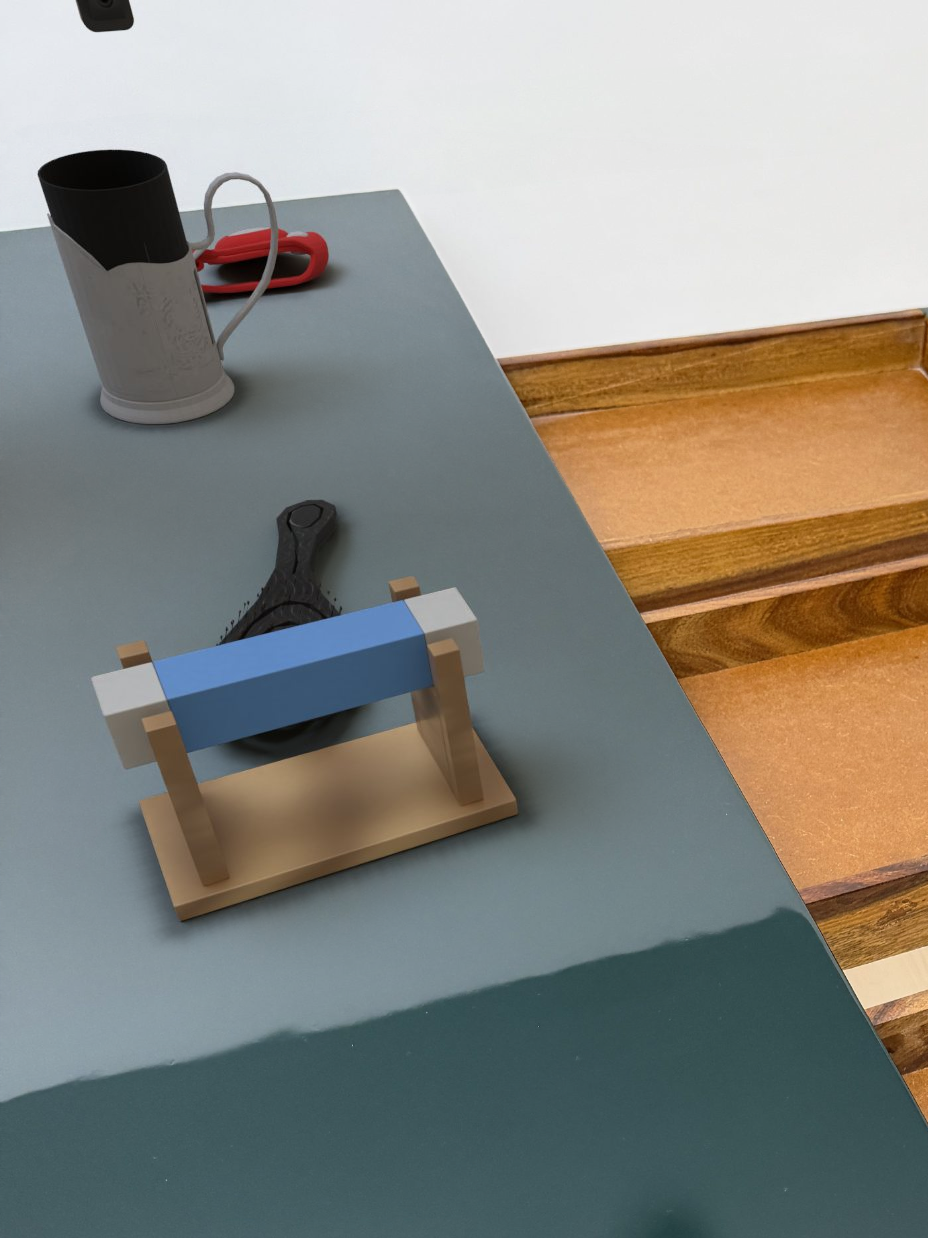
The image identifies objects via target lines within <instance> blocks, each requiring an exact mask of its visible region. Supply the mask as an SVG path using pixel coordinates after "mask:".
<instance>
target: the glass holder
mask: <svg viewBox="0 0 928 1238" xmlns="http://www.w3.org/2000/svg"><path fill="white" fill-rule="evenodd" d="M37 178H38V180H39V183H40V187H41V190H42V193H43V196H44V199H45V202H46V205H47V208H48V213H46V216H47V219H48V221H49V225H50V228H51V231H52V234H53V237H54V240H55V243H56V246H57V249H58V253H59V255H60V259H61V262H62V265H63V268H64V272H65V274H66V277H67V280H68V283H69V287H70V290H71V293H72V295H73V299H74V302H75V305H76V308H77V311H78V314H79V318H80V320H81V321H80V322H81V323H82V327H83V329H84V333H85V336H86V340H87V342H88V345H89V348H90V351H91V354H92V357H93V361H94V364H95V366H96V371H97V373H98V377H99V380H100V382H101V384H100V385H101V391H100V399H99V401H100V406H101V408H102V409H103V411H104V412H105V413H107V414H108V415H110V416H111V417H113V418H114V419H115V418H116V419H117V420H120V421H125V422H128V423H134V424H143V425H165V424H176V423H180V422H187V421H190V420H194V419H198V418H201V417H204V416H207V415H209V414H211V413H214V412H216V411H218V410H219V409H221V408H223V407H225V405H227V403H229V402H230V401H231V399H232V398H233V397H234V394H235V384H234V382H233V381H232V379H231V378H230V377H229V375H228V374H227V373H226V371H225V370H224V368H223V365H222V362H223V361H225V355H224V346H225V344H226V343H227V341H228V339H229V338H230V336H231V335H232V334H233V332H234V331H235V330H236V329H237V328H238V326H239V325H240V324H241V322H242V321H243V320H244V319H245V318H246V317H247V315H248V314H249V313H250V312H251V311H252V309H253V308H254V306H255V305H256V303H258V301H259V300H260V298H261V297H262V296H263V294H264V292H266V290H267V289H266V288H267V286H268V285H269V283H270V279H272V276H273V274H274V273H273V272H274V270H275V266H276V265H275V264H276V260H277V256H278V254H277V251H278V228H279V227H278V219H277V213H276V208H275V206H274V203H273V200H272V197H271V194H270V193H269V191H268V190H267V189H266V188H265V186H264V185H263V184H262V183H261V181H259V180H258V179H256V178H255V177H253V176H252V175H250V174H247V173H242V172H237V171H236V172H225V173H223V174H221V175H219V176H216V177H215V178H214V179H213V180H212V181H211V183H209V185H208V187H207V189H206V191H205V193H204V198H203V199H204V200H203V211H204V219H205V223H206V228H207V235H206V236H205V238H204V239H202V240H200V241H196V242H189V241H188V240H187V237H186V233H185V229H184V225H183V222H182V217H181V213H180V210H179V206H178V202H177V198H176V195H175V191H174V187H173V183H172V179H171V176H170V172H169V168H168V164H167V163H166V161H165V160H164V159H163V158H161V157H160V156H157V155H155V154H152V153H148V152H144V151H139V150H131V149H96V150H94V149H93V150H87V151H80V152H75V153H70V154H66V155H62V156H59V157H56V158H54V159H51V160H50V161H47V162H45V163H44V164H43V165H41V166H40V168H39V169H38V170H37ZM232 180H233V181H234V180H241V181H246V182H249V183H250V184H253V185H255V186H256V187H257V188H258V190H260V192H261V193H262V194H263V197H264V200H265V203H266V206H267V208H268V215H269V224H270V228H271V247H270V252H269V255H268V256H267V261H266V265H265V268H264V271H263V273H262V276H261V279H260V280H261V281H260V280H259V281H260V282H259V284H258V286H257V287H256V289H255V290H253V292H252V293H251V295H250V296H249V298H248V299H247V301H246V302H244V305H243V306H241V308H240V309H239V310H238V311H237V313H236V314H235V315H234V316H233V317H232V318H231V320H230V321H229V322H228V323H227V325H226V326H225V328H224V329H223V330H222V332H221V333H220V334H219V336H218V338H217V340H216V337H215V334H214V330H213V327H212V322H211V319H210V314H209V311H208V306H207V303H206V299H205V295H204V292H203V291H202V287H201V285H202V284H201V280H200V276H199V272H197V268H196V264H195V260H194V256H193V252H192V251H195V250H201V249H204V248H206V247H208V246H209V247H210V246H211V245H212V244H213V242H214V241H215V236H216V231H215V225H214V218H213V210H212V208H213V199H214V197H215V194H216V193H217V190H218V189H219V188H220V187H221V186H222V185H223V184H224V183H227V182H229V181H232ZM209 247H208V248H209Z"/></svg>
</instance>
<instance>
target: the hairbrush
mask: <svg viewBox="0 0 928 1238" xmlns="http://www.w3.org/2000/svg"><path fill="white" fill-rule="evenodd" d="M275 519H276V527H277V533H278V542H277V549H276V557H275V566H274V570H272V572H271V574H270V577H269V578H268V580H267V581H266V583H265V585H264V587H263V586H261V588H260V590H261V593H259V592H257V594H256V597H257V599H256V600H255V602H254V603H253V604H252V605H251V606H250V608H249V609H248V607H249V605H250V600H247V601H246V602H243V609H245V608H246V611H245V610H243V611H242V610H241V609H239V611H238V613H239V614H238V621H237V622H236V623H235V620H234V619H232V620H231V621H230V626H231V628H230V631H229V628H228V626H226V627H225V634H224V635H225V636H224V637H223V635H220V637H219V638H220V640H221V641H220V642H219V643H216V645H215V646H218V645H222V644H226V643H231V642H235V641H239V640H243V639H247V638H251V637H255V636H259V635H263V634H267V633H271V632H275V631H279V630H283V629H287V628H291V627H295V626H299V625H304V624H308V623H312V622H316V621H320V620H324V619H328V618H332V617H336V616H340V615H342V611H343V606H342V605H339V610H337V609H336V608H335V606H334V605H335V602H336V601H337V598H336V597H334V598H333V600H334V603H333V604H332V603H331V602H330V600H329V599H328V597H326V596H325V595H324V593H323V592H322V590H321V588H322V582H319V583H318V582H317V580H316V578H315V575H314V571H315V567H316V563H317V560H318V557H319V554H320V550H321V547H322V546H323V545H324V543H325V542H326V541H327V540H328V539H329V537H331V535H332V534H333V532H334V531H335V530H336V528H337V527H338V513H337V508H336V505H335V504H333V503H330V502H328V501H326V500H324V499H306V500H303V501H300V502H298V503H295V504H292V505H289V506H287V507H285V508H284V509H283V510H282V511H281V513H279V515H278V516H277V517H276V518H275ZM295 541H296V542H295ZM296 543H297V545H296ZM296 546H297V547H298V551H297V547H296ZM330 592H331V591H330V590H327V591H326V593H327V595H328V596H329V595H330ZM246 606H247V607H246ZM244 612H245V613H244ZM241 613H242V614H243V615H242V617H241ZM234 624H235V625H234ZM228 631H229V632H228ZM335 714H336V713H332V714H329V715H325V716H321V717H318V718H314V719H310V720H307V721H303V722H299V723H296V724H292V725H288V726H287V727H289V726H294V725H299V724H303V723H309V722H313V721H318V720H319V721H320V720H323V719H328V718H330V717H332V716H333V715H335Z"/></svg>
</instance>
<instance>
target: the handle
mask: <svg viewBox="0 0 928 1238" xmlns="http://www.w3.org/2000/svg"><path fill="white" fill-rule="evenodd" d="M451 638H452V639H453V640H454V642H455V643H456V645H457V646H458V648H459V650H460V656H461V662H462V668H463V674H464V678H466V677H471V676H474V675H478V674H481V673H484V672H486V668H485V667H486V666H485V661H484V654H483V647H482V642H481V635H480V627H479V621H478V619H477V617H476V616H475V614H474V612H473V611H472V609H471V608H470V607H469V605H468V603H467V601H466V600H465V599H464V598H463V596H462V594H461V593H460V591H459V589H457V587H455V586H454V587H450V588H447V589H446V588H445V589H442V590H438V591H434V592H430V593H426V594H421V596H417V597H413V598H409V599H405V600H404V601H403V600H401V601H397V602H393V603H392V602H389V603H384V604H381V605H377V606H373V607H370V608H365V609H361V610H355V611H352V612H349V613H345V614H340V616H336V617H332V618H328V619H324V620H320V621H316V622H312V623H308V624H304V625H299V626H295V627H291V628H287V629H283V630H279V631H275V632H271V633H267V634H263V635H259V636H255V637H251V638H247V639H243V640H239V641H235V642H231V643H226V644H222V645H219V644H218V646H216V645H215V646H209V647H207V648H202V649H198V650H194V651H190V652H187V653H181V654H179V655H175V656H170V657H166V658H163V659H158V660H154V661H152V662H153V663H151V662H150V663H146V664H142V665H138V666H134V667H130V668H126V669H123V668H122V669H118V670H114V671H110V672H106V673H102V674H97V675H94V676H91V677H90V680H91V684H92V687H93V690H94V692H95V696H96V699H97V701H98V705H99V708H100V710H101V713H102V716H103V719H104V722H105V724H106V727H107V729H108V732H109V734H110V737H111V739H112V743H113V745H114V748H115V750H116V752H117V755H118V757H119V760H120V762H121V766H122V767H123V768H122V769H124V770H130V769H134V768H139V767H142V766H145V765H148V764H152V763H157V761H156V758H155V756H154V753H153V750H152V748H151V745H150V742H149V739H148V737H147V734H146V731H145V728H144V726H143V723H142V718H146V717H150V716H154V715H157V714H161V713H165V712H169V711H172V713H173V716H174V718H175V721H176V723H177V726H178V729H179V732H180V735H181V738H182V741H183V744H184V746H185V749H186V752H187V754H189V753H193V752H197V751H200V750H205V749H207V748H211V747H215V746H219V745H222V744H223V745H224V744H226V743H229V742H233V741H237V740H241V739H244V738H249V737H251V736H255V735H259V734H262V733H266V732H270V731H274V730H278V729H281V728H284V727H289V726H288V725H290V726H293V725H292V724H295V725H297V724H296V723H299V722H303V721H307V720H310V719H314V718H318V717H321V716H325V715H329V714H332V713H335V714H337V713H340V712H343V711H347V710H351V709H354V708H357V707H362V706H365V705H369V704H372V703H375V702H379V701H383V700H387V699H391V698H394V697H399V696H402V695H405V694H408V693H409V694H410V692H413V691H416V690H420V689H424V688H427V687H431V686H433V684H434V682H433V676H432V671H431V665H430V660H429V654H428V649H427V645H428V644H431V643H435V642H439V641H443V640H447V639H451Z"/></svg>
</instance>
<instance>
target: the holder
mask: <svg viewBox="0 0 928 1238" xmlns="http://www.w3.org/2000/svg"><path fill="white" fill-rule="evenodd" d="M388 587H389V593H390V597H391V603H393V602H397V601H401V600H403V601H404V600H405V599H409V598H413V597H417V596H421V595H422V594H421V593H422V592H421V586H420V584H419V583H418V581H417V580H416V578H415V577H414V576H413V575H410V576H406V577H401V578H397V579H392V580H389V581H388ZM115 649H116V650H115V651H116V652H117V656H118V659H119V661H120V663H121V666H122V669H126V668H130V667H134V666H138V665H142V664H146V663H150V662H151V663H153V662H154V661H153V659H152V656H151V653H150V650H149V648H148V644H147V642H146V641H145V640H144V639H142V640H138V641H134V642H130V643H125V644H122V645H118V646H116V647H115ZM427 649H428V654H429V660H430V665H431V671H432V676H433V682H434V684H433V686H431V687H427V688H424V689H420V690H416V691H413V692H409V694H410V699H411V704H412V709H413V710H412V711H413V715H414V719H415V722H412V723H409V724H406V725H405V724H404V725H402V726H397V727H394V728H391V729H388V730H383V731H379V732H376V733H373V734H370V735H366V736H363V737H359V738H356V739H351V740H348V741H345V742H341V743H338V744H333V745H331V746H327V747H324V748H319V749H316V750H313V751H310V752H306V753H303V754H298V755H295V756H292V757H288V758H284V759H281V760H277V761H273V762H269V763H266V764H263V765H260V766H256V767H252V768H248V769H246V770H242V771H238V772H234V773H231V774H227V775H224V776H221V777H217V778H213V779H210V780H207V781H202V782H199V783H198V781H197V779H196V776H195V773H194V770H193V767H192V764H191V761H190V758H189V756H188V753H187V752H186V749H185V746H184V744H183V741H182V738H181V735H180V732H179V729H178V726H177V723H176V721H175V718H174V716H173V713H172V711H169V712H165V713H161V714H157V715H154V716H150V717H146V718H142V723H143V726H144V728H145V731H146V734H147V737H148V739H149V742H150V745H151V748H152V750H153V753H154V756H155V758H156V763H157V767H158V769H159V772H160V775H161V777H162V780H163V783H164V786H165V788H166V791H167V792H164V793H161V794H157V795H152V796H150V797H149V796H148V797H147V798H142V799H140V800H138V805H139V807H140V810H141V813H142V816H143V819H144V823H145V826H146V829H147V831H148V835H149V837H150V840H151V843H152V846H153V849H154V852H155V855H156V858H157V862H158V864H159V868H160V870H161V873H162V876H163V879H164V882H165V885H166V888H167V892H168V894H169V897H170V900H171V903H172V906H173V909H174V911H175V914H176V916H177V919H178V921H180V922H183V921H186V920H189V919H191V918H195V917H199V916H202V915H204V914H208V913H211V912H214V911H217V910H220V909H224V908H227V907H230V906H233V905H236V904H239V903H243V902H245V901H248V900H252V899H255V898H258V897H261V896H264V895H268V894H271V893H274V892H277V891H280V890H283V889H287V888H290V887H293V886H296V885H299V884H303V883H305V882H309V881H312V880H314V879H318V878H322V877H324V876H328V875H331V874H333V873H337V872H340V871H343V870H347V869H350V868H353V867H356V866H359V865H363V864H366V863H369V862H371V861H375V860H378V859H382V858H384V857H387V856H391V855H394V854H397V853H400V852H403V851H406V850H409V849H413V848H416V847H418V846H422V845H425V844H429V843H432V842H434V841H435V842H436V841H438V840H441V839H444V838H447V837H450V836H454V835H457V834H460V833H463V832H467V831H469V830H473V829H475V828H479V827H482V826H486V825H488V824H491V823H494V822H498V821H500V820H504V819H507V818H510V817H513V816H516V815H518V814H519V807H518V801H517V799H516V796H515V795H514V793H513V792H512V790H511V789H510V787H509V785H508V784H507V782H506V780H505V778H504V777H503V776H502V774H501V772H500V770H499V769H498V767H497V765H496V764H495V762H494V760H493V759H492V757H491V755H490V754H489V753H488V750H487V749H486V747H485V745H484V743H483V742H482V740H481V739H480V737H479V735H478V734H477V732H476V731H475V729H474V728H473V724H472V718H471V712H470V711H471V710H470V705H469V699H468V693H467V686H466V680H465V677H464V674H463V668H462V662H461V656H460V650H459V648H458V646H457V645H456V643H455V642H454V640H453V639H452V638H451V639H447V640H443V641H439V642H435V643H431V644H428V645H427Z"/></svg>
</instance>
